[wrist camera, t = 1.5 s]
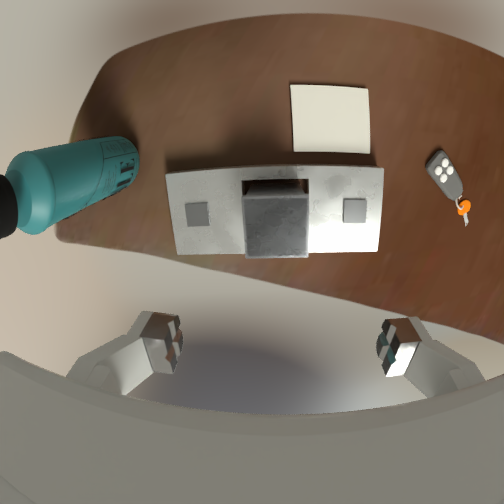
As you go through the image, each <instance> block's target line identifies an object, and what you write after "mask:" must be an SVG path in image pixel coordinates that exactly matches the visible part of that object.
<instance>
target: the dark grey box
mask: <svg viewBox="0 0 504 504" xmlns="http://www.w3.org/2000/svg"><path fill="white" fill-rule="evenodd" d="M241 202H242V216H243V230H244V243H245V256H246V258H296V257H308V248H309V194H305V193H304V191H303V189H302V187H301V185H300V183H261V184H251V186H250V188H249V190H248V192H247V194H246V195H242V197H241Z"/></svg>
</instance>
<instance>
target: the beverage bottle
mask: <svg viewBox="0 0 504 504" xmlns="http://www.w3.org/2000/svg"><path fill="white" fill-rule="evenodd" d="M102 137H103V136H102ZM86 139H87V138H86ZM89 139H90V138H89ZM138 170H139V155H138V152H137V150H136V148H135V146H134V145H133V144H132V143H131V142H130V141H129V140H128V139H126V138H124V137H120V136H112V137H105V138H97V139H91V140H84V141H80V140H79V142H75V143H73V142H72V143H69V144H64V145H58V146H53V147H48V148H43V149H38V150H34V151H25V152H22V153H20V154H18V155H17V156H15V157H14V158H13V160H12V161H11V163H10V164H9V166H8V169H7V171H6V174H5V176H3V175H0V239H1V238H4V237H7V236H9V235H11V234H12V233H13V232H14V231H15V230H16V227H17V228H19V229H20V230H22V231H23V232H25V233H28V234H31V235H35V234H39V233H41V232H43V231H45V230H46V229H47V228H48V227H50V226H51V225H53V224H55V223H57V222H58V221H60V220H62V219H63V220H64V219H67V218H66V217H68V216H70V215H72V214H73V215H75V214H74V213H77V211H78V212H79V211H81V209H83V208H86V207H87V206H89V205H91V204H92V205H93V204H95V202H97V201H99V200H101V199H103V198H104V199H105V198H107V196H109V195H110V196H112V195H114V194H115V193H116V194H117V192H118V193H119V192H121V190H122V189H124V188H126V187H127V186H129V185H130V184H131V183H133V180H135V177H136V175H137V173H138ZM126 189H127V188H126ZM110 196H109V197H110ZM104 199H103V200H104ZM101 201H102V200H101ZM84 210H85V209H84ZM73 215H72V216H73ZM68 218H69V217H68Z"/></svg>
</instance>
